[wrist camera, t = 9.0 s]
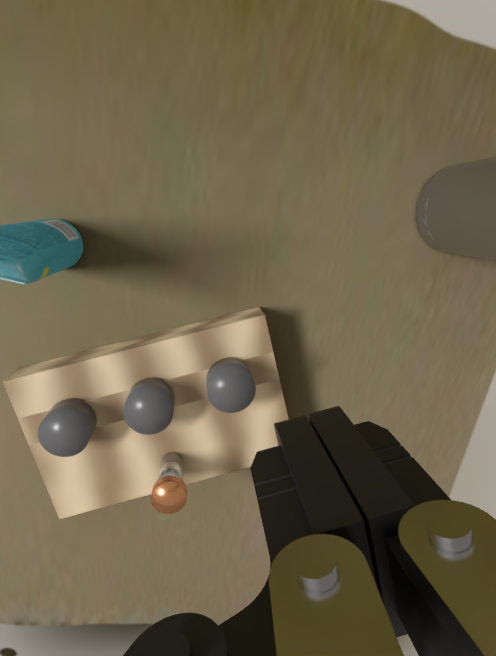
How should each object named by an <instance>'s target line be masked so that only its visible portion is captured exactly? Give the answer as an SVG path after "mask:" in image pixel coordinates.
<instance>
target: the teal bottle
mask: <svg viewBox="0 0 496 656" xmlns="http://www.w3.org/2000/svg"><path fill="white" fill-rule="evenodd" d="M82 252H83V241H82V238H81V235H80V233H79V232H78V231H77V229H76V228H75V227H74V226H73V225H71V224H70V223H68V222H66V221H63V220H59V219H48V220H39V221H31V222H23V223H16V224H8V225H1V226H0V279H1V280H7V281H12V282H17V283H20V284H29V283H32V282H35V281H38V280H40V279H42V278H44V277H47V276H49V275H51V274H54V273H56V272H59V271H61V270H64V269H66V268H69V267H71V266H73V265H74V264H75V263H77V262H78V260H79V259H80V257H81V255H82Z"/></svg>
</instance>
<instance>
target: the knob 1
mask: <svg viewBox="0 0 496 656" xmlns="http://www.w3.org/2000/svg"><path fill="white" fill-rule="evenodd" d="M96 423H97V418H96V414H95V412H94V410H93V409H92V407H91V406H90V405H89V404H87V403H86V402H84V401H82V400H79V399H65V400H62V401H60V402H58V403H56V404H55V405H54V406H53V407H52V409H51V410H50V411H49V412H48V414H47V415H46V416H45V418H44V419H43V420H42V422H41V423H40V425H39V428H38V439H39V442H40V444H41V445H42V447H43V448H44V449H45V450H46V451H47V452H49V453H51V454H53V455H55V456H59V457H70V456H74V455H76V454H78V453H80V452H81V451H83V450H84V449H85V447H86V446H87V444H88V442H89V440H90V438H91V436H92V434H93V432H94V430H95V427H96Z"/></svg>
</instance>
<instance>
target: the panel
mask: <svg viewBox="0 0 496 656" xmlns="http://www.w3.org/2000/svg"><path fill="white" fill-rule="evenodd" d="M229 357H230V358H237V359H239V360H241V361H243V362H244V363H245V364H246V365H247V366H248V367H249V369H250V371H251V374H252V377H253V379H254V382H255V386H256V392H255V397H254V399H253V401H252V402H251V404H250V405H249V406H248V407H247V408H245V409H244V410H242V411H239V412H236V413H225V412H222V411H220V410H218V409H216V408H215V407H214V406H213V405H212V404H211V403H210V401H209V399H208V395H207V381H206V378H207V373H208V371H209V369H210V367H211V366H212V365H213V364H214V363H215V362H217V361H218V360H220V359H223V358H229ZM145 378H158V379H161V380H163V381H165V382H166V383H167V384H169V385H170V387H171V388H172V390H173V392H174V395H175V405H174V413H173V418H172V421H171V423H170V424H169V426H168V427H167V428H166V429H164V430H163V431H161V432H159V433H156V434H151V435H145V434H141V433H138V432H136V431H134V430H133V429H131V428H130V427H129V426H128V424H127V423H126V421H125V419H124V414H123V409H124V405H125V402H126V400H127V397H128V395H129V392H130V390H131V388H132V387H133V386H134V384H136V383H137V382H138V381H140V380H142V379H145ZM3 384H4V386H5V388H6V391H7V393H8V396H9V398H10V400H11V403H12V405H13V408H14V410H15V413H16V415H17V417H18V420H19V422H20V425H21V427H22V429H23V432H24V434H25V437H26V439H27V441H28V444H29V446H30V449H31V451H32V454H33V456H34V458H35V461H36V463H37V466H38V468H39V470H40V473H41V475H42V478H43V480H44V483H45V485H46V487H47V490H48V492H49V495H50V497H51V499H52V502H53V504H54V507H55V509H56V512H57V514H58V516H59V519H62V518H65V517H69V516H73V515H76V514H80V513H84V512H87V511H91V510H95V509H98V508H102V507H106V506H109V505H113V504H117V503H120V502H124V501H128V500H131V499H135V498H138V497H142V496H146V495H149V494H152V489H153V486H154V484H155V482H156V481H157V480H158V477H159V470H160V463H161V459H162V457H163V456H164V455H165V454H166V453H169V452H176V453H179V454H180V455H181V456H182V457H183V460H184V468H183V482H184V483H185V485H186V484H190V483H193V482H197V481H201V480H204V479H208V478H212V477H215V476H219V475H222V474H226V473H230V472H233V471H237V470H241V469H244V468H248V467H251V465H252V463H253V460H254V458H255V455H256V453H257V451H261V450H265V449H268V448H272V447H276V446H279V445H278V441H277V437H276V433H275V428H274V423H277V422H281V421H285V420H289V418H288V414H287V410H286V405H285V401H284V397H283V392H282V388H281V383H280V379H279V375H278V370H277V366H276V362H275V357H274V353H273V348H272V344H271V340H270V335H269V331H268V327H267V322H266V318H265V314H264V313H263V312H262V310H261V309H260V307H257V308H253V309H249V310H245V311H241V312H237V313H233V314H229V315H225V316H221V317H218V318H214V319H210V320H206V321H202V322H198V323H194V324H190V325H186V326H182V327H178V328H174V329H170V330H166V331H162V332H159V333H155V334H151V335H147V336H143V337H139V338H135V339H131V340H127V341H123V342H119V343H115V344H111V345H107V346H103V347H100V348H96V349H92V350H88V351H84V352H80V353H76V354H72V355H68V356H64V357H60V358H56V359H52V360H48V361H44V362H40V363H37V364H33V365H29V366H25V367H21V368H18V369H17V370H16V371H15V372H14V373H13V374H11V375H10V376H9V377H8V378H7V379H5V380H4V381H3ZM65 399H79V400H82V401H84V402H86V403H87V404H89V405H90V406H91V407H92V409H93V410H94V412H95V414H96V418H97V423H96V427H95V430H94V432H93V434H92V436H91V438H90V440H89V442H88V444H87V446H86V447H85V449H84V450H83V451H81V452H80V453H78V454H76V455H74V456H70V457H59V456H55V455H53V454H51V453H49V452H47V451H46V450H45V449H44V448H43V447H42V445H41V444H40V442H39V439H38V428H39V425H40V423H41V422H42V420H43V419H44V418H45V416H46V415H47V414H48V412H49V411H50V410H51V409H52V407H53V406H54V405H55V404H56V403H58V402H60V401H62V400H65Z"/></svg>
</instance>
